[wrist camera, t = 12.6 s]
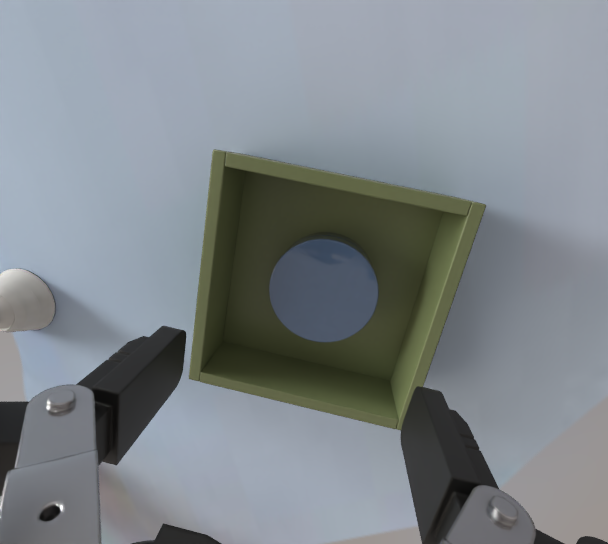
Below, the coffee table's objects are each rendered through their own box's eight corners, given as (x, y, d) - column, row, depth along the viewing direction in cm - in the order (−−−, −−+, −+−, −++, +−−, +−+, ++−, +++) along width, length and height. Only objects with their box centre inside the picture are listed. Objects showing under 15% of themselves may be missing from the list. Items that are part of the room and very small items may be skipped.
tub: (216, 341, 25) (188, 379, 21) (240, 153, 21) (212, 149, 17) (395, 384, 25) (407, 432, 20) (455, 197, 21) (487, 204, 16)
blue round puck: (269, 314, 23) (261, 329, 21) (285, 222, 21) (278, 228, 19) (362, 335, 23) (363, 353, 21) (386, 243, 21) (391, 252, 19)
